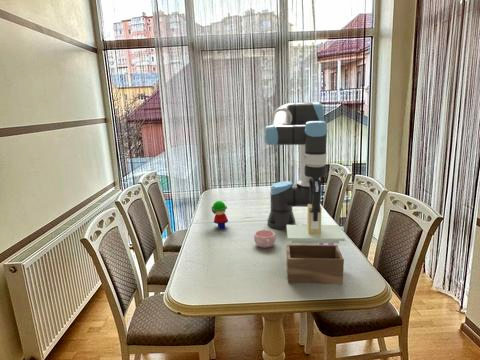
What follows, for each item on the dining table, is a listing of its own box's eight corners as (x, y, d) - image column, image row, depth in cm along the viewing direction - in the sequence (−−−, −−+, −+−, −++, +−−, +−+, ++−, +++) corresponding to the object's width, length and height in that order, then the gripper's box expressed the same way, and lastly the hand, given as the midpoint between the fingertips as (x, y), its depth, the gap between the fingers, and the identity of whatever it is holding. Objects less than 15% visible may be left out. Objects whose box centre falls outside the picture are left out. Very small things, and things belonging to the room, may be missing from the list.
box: (286, 265, 138) (286, 244, 136) (336, 266, 136) (337, 244, 134) (287, 282, 125) (287, 259, 123) (342, 283, 123) (343, 259, 121)
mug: (252, 242, 162) (252, 230, 161) (272, 240, 164) (272, 228, 162) (258, 252, 151) (257, 240, 149) (279, 250, 152) (279, 238, 151)
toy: (228, 230, 177) (227, 203, 174) (212, 231, 177) (210, 203, 174) (228, 224, 186) (227, 198, 183) (212, 225, 186) (211, 199, 183)
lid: (286, 230, 135) (286, 200, 132) (337, 231, 133) (338, 200, 130) (287, 244, 122) (287, 211, 119) (344, 245, 120) (345, 211, 117)
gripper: (302, 160, 129) (301, 217, 135) (306, 170, 113) (306, 235, 118) (322, 160, 129) (321, 217, 134) (329, 170, 112) (327, 235, 117)
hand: (314, 225), depth 126 cm, fingers closed on lid, 4 cm apart
